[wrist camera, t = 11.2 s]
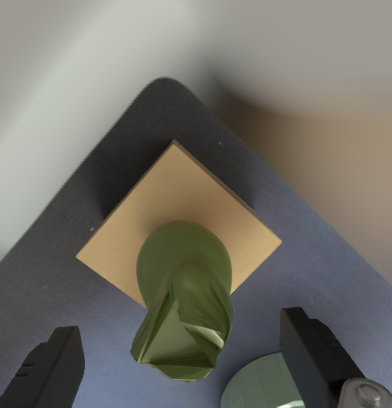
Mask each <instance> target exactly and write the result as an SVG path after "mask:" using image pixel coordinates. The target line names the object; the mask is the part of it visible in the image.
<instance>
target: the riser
mask: <svg viewBox="0 0 392 408" xmlns="http://www.w3.org/2000/svg"><path fill="white" fill-rule="evenodd" d="M172 221H188V222H193V223H196V224H199V225H201V226H203V227H205V228H207V229H208V230H210V231H211V232H212V233H214V234H215V235H216V236H217V237H218V238H219V239H220V240H221V241H222V243H223V244H224V246H225V247H226V249H227V251H228V253H229V256H230V259H231V264H232V287H231V293H232V292H233V291H234V290H235V289H236V288H237V287H238V286H239V285H240V284H241V283H242V282H243V281H244V280H245V279H246V278H247V277H248V276H249V275H250V274H251V273H252V272H253V271H254V270H255V269H256V268H257V267H258V266H259V265H260V264H261V263H262V262H263V261H264V260H265V259H266V258H267V257H268V256H269V255H270V254H271V253H272V252H273V251H274V250H275V249H276V248H277V247H278V246H279V245H280V244H281V243H282V240H281V239H280V238H279V237H278V236H277V235H276V234H275V233H274V232H273V231H272V230H271V229H270V227H269V226H268V225H267V224H266V223H265V222H264V221H263V220H262V219H261V218H260V217H259V215H258V214H257V213H256V212H255V211H254V210H253V209H252V208H251V207H249V206H248V205H247V204H246V203H245V202H244V201H243V200H242V199H241V198H240V197H238V196H237V195H236V194H235V193H234V192H233V191H232V190H231V189H230V188H228V187H227V186H226V185H225V184H224V183H223V182H222V181H221V180H220V179H218V178H217V177H216V176H215V175H214V174H213V173H212V172H211V171H210V170H208V169H207V168H206V167H205V166H204V165H203V164H202V163H201V162H200V161H199V160H197V159H196V158H195V157H194V156H193V155H192V154H191V153H190V152H189V151H187V150H186V149H185V148H184V147H183V146H182V145H181V144H180V143H179V142H177V141H176V140H175V139H174V140H173V141H172V142H171V143H170V144H169V146H168V147H167V148H166V149H165V150H164V151H163V152H162V154H161V155H160V156H159V157H158V158H157V159H156V161H155V162H154V163H153V164H152V165H151V166H150V167H149V169H148V170H147V171H146V172H145V173H144V174H143V176H142V177H141V178H140V179H139V180H138V181H137V182H136V184H135V185H134V186H133V187H132V188H131V189H130V191H129V192H128V193H127V194H126V195H125V196H124V198H123V199H122V200H121V201H120V202H119V203H118V204H117V206H116V207H115V208H114V209H113V210H112V211H111V213H110V214H109V215H108V216H107V217H106V218H105V219H104V221H103V222H102V223H101V224H100V226H99V227H98V228H97V230H96V231H95V232H94V233H93V235H92V236H91V237H90V239H89V240H88V241H87V242H86V244H85V245H84V246H83V248H82V249H81V250H80V251H79V253H78V254H77V255H76V258H78V259H79V260H80V261H82V262H83V263H85V264H86V265H87V266H89V267H90V268H91V269H93V270H94V271H95V272H97V273H98V274H100V275H101V276H102V277H104V278H105V279H106V280H108V281H109V282H111V283H112V284H113V285H115V286H116V287H117V288H119V289H120V290H122V291H123V292H124V293H126V294H127V295H128V296H130V297H131V298H132V299H134V300H135V301H137V302H138V303H139V304H141V305H142V306H143V307H145V308H146V309H147V307H146V305H145V303H144V301H143V298H142V296H141V293H140V290H139V286H138V282H137V276H136V262H137V257H138V254H139V251H140V249H141V246H142V245H143V243H144V241H145V240H146V238H147V237H148V236H149V235H150V234H151V233H152V232H153V231H154V230H155V229H157V228H158V227H159V226H161V225H163V224H165V223H168V222H172ZM231 293H230V294H231Z"/></svg>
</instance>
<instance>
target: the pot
mask: <svg viewBox="0 0 392 408" xmlns="http://www.w3.org/2000/svg"><path fill="white" fill-rule="evenodd" d="M220 408H306V407H305V405H304V403H303V400H302V398H301V396H300V394H299V392H298V389H297V387H296V385H295V383H294V381H293V378H292V376H291V374H290V372H289V370H288V367H287V365H286V363H285V361H284V358H283V356H282V352H279V353H273V354H269V355H266V356H263V357H260V358H258V359H256V360H254V361H252V362H250V363H249V364H247V365H246V366H244V367H243V368H241V369H240V370H239V371H238V372H237V373H236V374H235V375H234V376H233V377H232V379H231V380H230V381H229V383H228V384H227V386H226V388H225V390H224V392H223V394H222V398H221V402H220Z"/></svg>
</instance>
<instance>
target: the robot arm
mask: <svg viewBox="0 0 392 408" xmlns="http://www.w3.org/2000/svg"><path fill="white" fill-rule="evenodd" d="M280 347H281V352H282V356H283V358H284V361H285V363H286V365H287V367H288V370H289V372H290V374H291V376H292V378H293V381H294V383H295V385H296V387H297V389H298V392H299V394H300V396H301V398H302V400H303V403H304V405H305V407H306V408H392V394H391V393H390V392H389V391H388V390H387V389H386V388H385V387H383V386H382V385H381V384H379V383H377V382H375V381H373V380H370V379H367V378H366V377H365V376H364V375H363V373H362V372H361V371H360V369H359V368H358V367H357V365H356V364H355V363H354V361H353V360H352V359H351V357H350V356H349V355H348V353H347V352H346V351H345V349H344V348H343V347H342V345H341V344H340V342H339V341H338V340H337V339H336V338H335V336H334V334H333V333H332V332H331V330H330V329H329V328H328V327H327V326H326V325H325V324H323V323H322V322H320V321H319V320H317V319H309V318H308V316H307V315H306V313H305V312H304V310H303V309H302V308H301V307H292V308H282V309H281V312H280ZM84 369H85V359H84V353H83V347H82V342H81V336H80V331H79V328H78V326H68V327H57V328H56V329H55V330H54V332H53V333H52V335H51V337H50V338H49V340H48V342H44V343H40V344H39V345H38V346H37V347H36V348H35V349H33V350H32V351H31V352H30V353H29V354H28V356H27V357H26V359H25V360H24V362H23V364H22V367H20V368H19V370H18V371H17V373H16V374H15V377H14V378H13V379H12V381H11V382H10V384H9V385H8V387H7V388H6V390H5V392H4V393H3V395H2V396H1V398H0V408H71V407H72V405H73V402H74V399H75V397H76V394H77V391H78V389H79V386H80V383H81V380H82V378H83V374H84Z"/></svg>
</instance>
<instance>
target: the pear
mask: <svg viewBox="0 0 392 408" xmlns="http://www.w3.org/2000/svg"><path fill="white" fill-rule="evenodd" d="M136 276H137V282H138V286H139V290H140V293H141V296H142V298H143V301H144V303H145V305H146V307H147V309H148V313H147V315H146V317H145V319H144V321H143V322H142V324H141V326H140V328H139V330H138V331H137V333H136V335H135V338H134V340H133V343H132V348H131V350H130V352H131V355H132V356H133V358H134V359H135V360H136V362H137V363H139V364H147V365H150V366H151V367H153V368H156V369H157V370H159V371H160V372H161V373H163V374H164V375H166V376H167V377H169V378H170V379H172V380H179V381H185V382H191V381H194V380H203V379H204V378H205V377H206V376H207V375H208V374H209V373H210V372H211V371H212V369H215V368H216V363H217V357H218V356H219V354H220V353H221V351H222V350H223V348H224V346H225V344H226V342H227V340H228V338H229V336H230V333H231V329H232V323H233V310H232V305H231V301H230V293H231V287H232V264H231V259H230V256H229V253H228V251H227V249H226V247H225V246H224V244H223V243H222V241H221V240H220V239H219V238H218V237H217V236H216V235H215V234H214V233H212V232H211V231H210V230H208V229H207V228H205V227H203V226H201V225H199V224H196V223H193V222H188V221H172V222H168V223H165V224H163V225H161V226H159V227H158V228H157V229H155V230H154V231H153V232H152V233H151V234H150V235H149V236H148V237H147V238H146V240H145V241H144V243H143V245H142V246H141V249H140V251H139V254H138V257H137V262H136Z"/></svg>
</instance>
